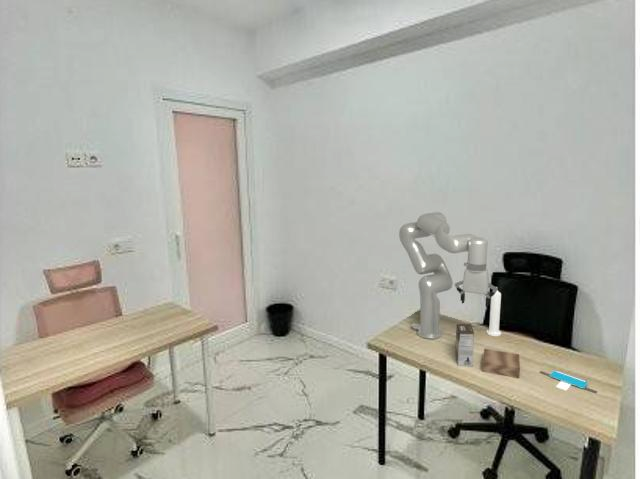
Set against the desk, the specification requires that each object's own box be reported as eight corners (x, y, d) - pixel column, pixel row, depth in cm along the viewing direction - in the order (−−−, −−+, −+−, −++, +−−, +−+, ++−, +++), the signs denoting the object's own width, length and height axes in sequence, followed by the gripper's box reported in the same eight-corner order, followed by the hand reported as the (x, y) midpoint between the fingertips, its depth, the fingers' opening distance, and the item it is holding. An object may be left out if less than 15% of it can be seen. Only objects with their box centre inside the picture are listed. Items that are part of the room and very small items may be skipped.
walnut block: (482, 372, 164) (482, 361, 163) (483, 358, 175) (484, 348, 174) (519, 379, 158) (519, 368, 157) (518, 364, 169) (519, 354, 168)
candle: (484, 333, 197) (486, 287, 191) (489, 328, 202) (491, 283, 196) (498, 337, 192) (501, 290, 187) (503, 332, 197) (506, 286, 192)
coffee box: (454, 355, 178) (456, 323, 175) (469, 356, 177) (471, 323, 173) (457, 365, 169) (459, 332, 166) (473, 366, 168) (474, 333, 164)
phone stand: (533, 379, 158) (533, 376, 158) (544, 368, 165) (545, 364, 165) (591, 401, 143) (591, 397, 143) (600, 388, 151) (600, 384, 150)
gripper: (453, 266, 165) (452, 304, 169) (498, 271, 157) (495, 310, 161) (457, 262, 171) (455, 298, 175) (499, 266, 163) (497, 304, 167)
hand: (474, 304), depth 168 cm, fingers open, 9 cm apart
